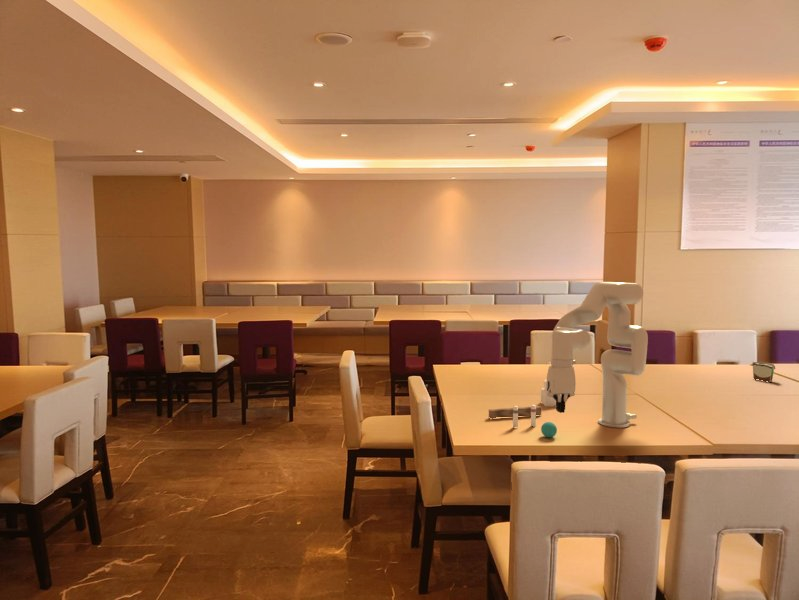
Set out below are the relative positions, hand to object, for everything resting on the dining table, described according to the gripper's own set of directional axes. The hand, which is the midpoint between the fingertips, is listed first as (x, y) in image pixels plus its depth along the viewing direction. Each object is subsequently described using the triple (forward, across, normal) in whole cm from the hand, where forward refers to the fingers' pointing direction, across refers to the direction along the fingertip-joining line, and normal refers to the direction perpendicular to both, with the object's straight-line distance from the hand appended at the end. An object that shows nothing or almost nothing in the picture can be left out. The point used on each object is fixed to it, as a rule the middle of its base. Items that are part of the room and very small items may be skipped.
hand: (560, 411), depth 204 cm
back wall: (+13, +1, -38) cm, 40 cm away
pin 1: (+13, +7, -24) cm, 28 cm away
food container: (+9, -165, -72) cm, 180 cm away
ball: (+10, -1, -10) cm, 14 cm away
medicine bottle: (+12, -24, -54) cm, 60 cm away
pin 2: (+13, -1, -24) cm, 27 cm away
